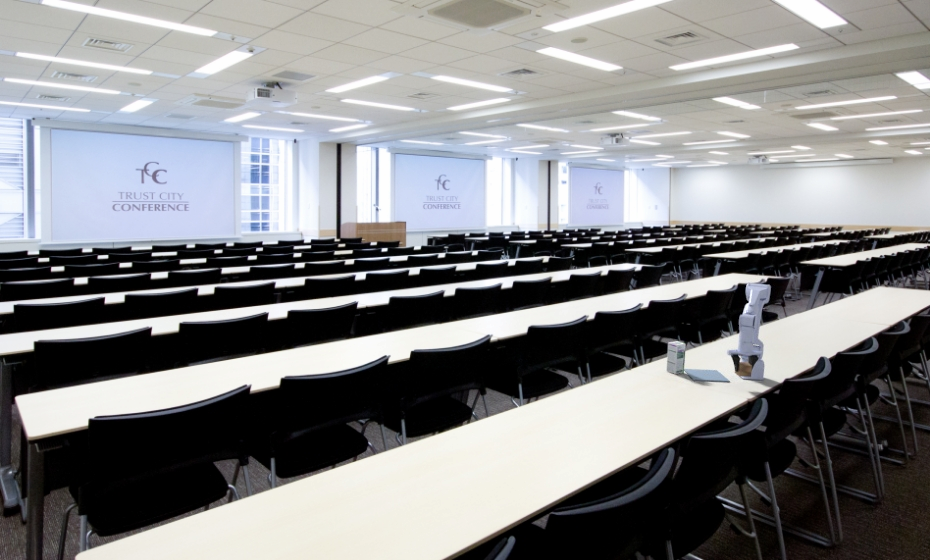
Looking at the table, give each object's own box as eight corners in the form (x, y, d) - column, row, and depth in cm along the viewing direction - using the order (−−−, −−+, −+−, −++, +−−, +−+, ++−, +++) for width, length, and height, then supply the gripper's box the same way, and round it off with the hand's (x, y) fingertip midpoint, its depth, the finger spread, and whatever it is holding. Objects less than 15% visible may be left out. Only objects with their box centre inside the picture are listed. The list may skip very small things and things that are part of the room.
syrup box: (675, 374, 275) (677, 344, 273) (665, 371, 280) (668, 341, 278) (684, 373, 277) (686, 343, 275) (674, 369, 283) (676, 340, 280)
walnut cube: (746, 373, 259) (747, 362, 258) (750, 376, 254) (752, 365, 253) (734, 372, 259) (735, 361, 258) (739, 376, 254) (740, 365, 254)
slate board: (716, 371, 281) (716, 370, 281) (729, 382, 266) (729, 380, 266) (682, 370, 282) (683, 368, 282) (693, 380, 267) (693, 379, 266)
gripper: (732, 343, 251) (729, 373, 253) (767, 344, 250) (763, 374, 252) (726, 338, 258) (723, 368, 260) (759, 340, 257) (756, 369, 259)
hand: (742, 371), depth 256 cm, fingers closed on walnut cube, 5 cm apart
